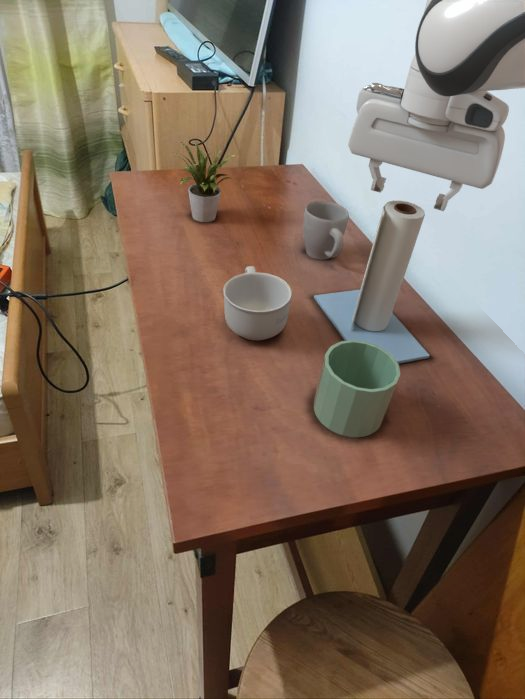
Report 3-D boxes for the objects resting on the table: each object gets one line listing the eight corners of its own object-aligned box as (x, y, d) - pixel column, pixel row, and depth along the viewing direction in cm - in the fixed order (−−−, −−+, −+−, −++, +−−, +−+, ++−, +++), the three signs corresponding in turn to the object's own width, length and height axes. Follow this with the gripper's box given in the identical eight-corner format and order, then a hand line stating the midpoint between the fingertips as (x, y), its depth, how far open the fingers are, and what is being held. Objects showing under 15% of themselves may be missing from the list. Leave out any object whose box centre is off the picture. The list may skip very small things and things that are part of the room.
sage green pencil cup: (391, 403, 75) (408, 357, 70) (369, 448, 68) (387, 402, 63) (329, 376, 78) (341, 331, 72) (302, 417, 71) (313, 371, 65)
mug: (291, 244, 109) (298, 201, 102) (329, 241, 111) (338, 199, 105) (313, 274, 100) (322, 230, 94) (353, 270, 103) (364, 227, 97)
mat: (428, 358, 84) (430, 355, 84) (366, 369, 80) (367, 367, 80) (369, 290, 98) (370, 287, 98) (313, 297, 94) (314, 295, 94)
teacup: (285, 352, 82) (293, 312, 76) (218, 346, 81) (220, 305, 76) (284, 302, 92) (290, 264, 87) (224, 296, 92) (227, 257, 86)
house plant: (152, 216, 111) (149, 140, 101) (189, 196, 121) (190, 125, 110) (206, 237, 107) (209, 160, 96) (240, 214, 117) (246, 142, 106)
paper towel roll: (383, 312, 92) (419, 200, 78) (391, 333, 87) (430, 218, 73) (344, 309, 91) (373, 196, 77) (349, 331, 87) (382, 214, 73)
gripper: (353, 83, 66) (333, 186, 75) (516, 120, 60) (473, 228, 69) (369, 75, 70) (348, 173, 79) (522, 109, 64) (480, 211, 73)
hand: (407, 199), depth 74 cm, fingers open, 8 cm apart
